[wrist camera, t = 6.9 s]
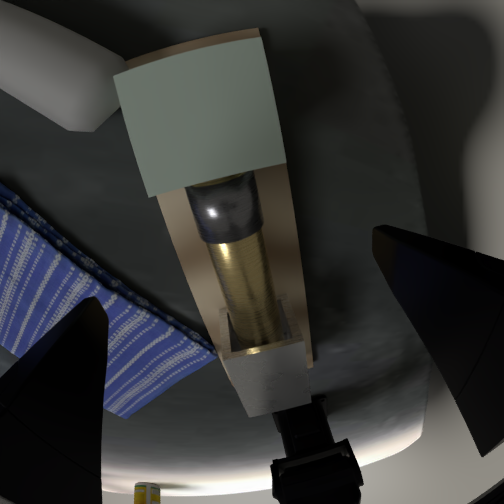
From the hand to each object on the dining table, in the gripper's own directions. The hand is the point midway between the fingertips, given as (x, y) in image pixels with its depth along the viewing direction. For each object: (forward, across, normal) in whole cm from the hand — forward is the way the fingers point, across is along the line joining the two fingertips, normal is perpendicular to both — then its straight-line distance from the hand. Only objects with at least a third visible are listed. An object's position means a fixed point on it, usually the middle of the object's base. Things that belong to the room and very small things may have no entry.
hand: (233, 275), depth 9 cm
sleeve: (+11, 0, +13) cm, 17 cm away
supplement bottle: (+11, +31, +53) cm, 63 cm away
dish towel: (+11, +17, +8) cm, 22 cm away
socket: (+11, 0, -4) cm, 11 cm away
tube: (+11, +12, -16) cm, 23 cm away
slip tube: (+9, 0, +3) cm, 10 cm away
